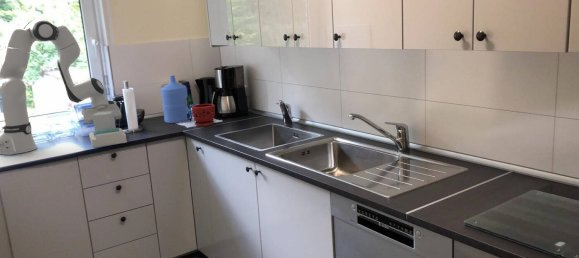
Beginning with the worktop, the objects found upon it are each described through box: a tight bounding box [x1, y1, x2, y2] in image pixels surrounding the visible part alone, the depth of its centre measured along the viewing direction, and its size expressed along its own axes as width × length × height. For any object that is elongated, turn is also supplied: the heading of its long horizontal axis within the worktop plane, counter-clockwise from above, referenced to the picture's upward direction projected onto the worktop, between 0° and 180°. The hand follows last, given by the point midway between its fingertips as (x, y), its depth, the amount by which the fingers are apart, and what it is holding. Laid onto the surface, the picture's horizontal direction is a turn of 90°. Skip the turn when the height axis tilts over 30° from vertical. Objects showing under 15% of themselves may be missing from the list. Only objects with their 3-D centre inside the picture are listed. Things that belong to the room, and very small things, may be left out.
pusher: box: [94, 127, 119, 135], centre depth 279 cm, size 4×12×7 cm, turn 114°
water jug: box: [160, 75, 190, 124], centre depth 324 cm, size 16×16×28 cm
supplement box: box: [92, 111, 117, 132], centre depth 287 cm, size 9×9×15 cm
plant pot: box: [191, 103, 216, 128], centre depth 308 cm, size 13×13×12 cm
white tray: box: [88, 127, 128, 148], centre depth 284 cm, size 20×17×6 cm
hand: (104, 126), depth 292 cm, fingers closed
